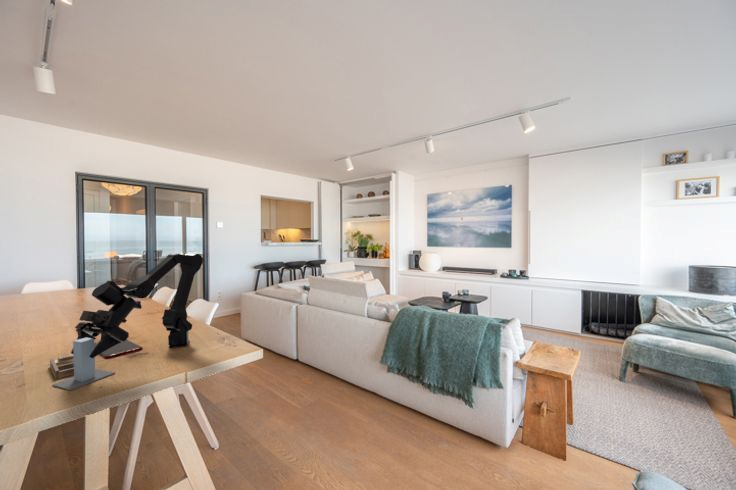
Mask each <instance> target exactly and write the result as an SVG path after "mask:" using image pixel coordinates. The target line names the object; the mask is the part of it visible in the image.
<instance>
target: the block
mask: <svg viewBox="0 0 736 490" xmlns="http://www.w3.org/2000/svg"><path fill="white" fill-rule="evenodd" d="M94 343H95V340H94V339H93V338H87V337H86V338H82V339H78V340H77V339H75V340H73V341H72V345H73V346H72V349H73V355H74V374H73V377H74V380H77V381H81V382H83V381H86V380H88V379H91V378H94V377H95V369H96V361H95V360H96V357H94V358H90V357H89V356H90V354H91V353H92V351H93V350H94Z"/></svg>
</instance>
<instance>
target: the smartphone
mask: <svg viewBox="0 0 736 490" xmlns="http://www.w3.org/2000/svg"><path fill="white" fill-rule="evenodd" d="M99 342H100V341H96V342H94V348H95V347H96V346H97V344H98V343H99ZM120 342H121V343H120V344H117V345H115V346H113V347H111V348H109V349H107V350H106V351H104V352H102V353H101V354H99V355H98V356H101V357H102V358H104V359H106V360H107V359H112V358H116V357H120V356H123V355H124V356H125V355H128V354H132V353H136V352H140V351H142V350H144V349H143V347H142V346H140V345H139V344H136V343H135V342H133V341H130V340H128V339H127V340H126V341H125V342H123V341H120Z"/></svg>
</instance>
